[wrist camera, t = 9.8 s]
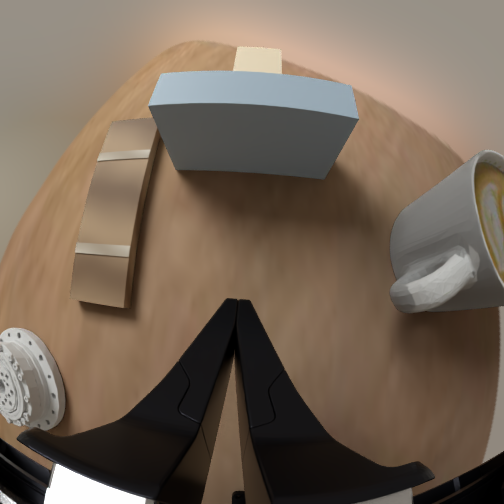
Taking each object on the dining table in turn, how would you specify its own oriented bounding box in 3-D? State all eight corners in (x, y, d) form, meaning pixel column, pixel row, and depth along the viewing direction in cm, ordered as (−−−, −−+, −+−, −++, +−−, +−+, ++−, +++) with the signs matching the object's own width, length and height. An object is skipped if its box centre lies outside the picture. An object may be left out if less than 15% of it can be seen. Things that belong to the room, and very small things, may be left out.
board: (130, 308, 18) (123, 307, 17) (77, 299, 18) (69, 298, 17) (163, 125, 22) (160, 116, 20) (116, 128, 22) (111, 121, 20)
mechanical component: (85, 400, 17) (29, 307, 18) (56, 415, 12) (-3, 303, 14) (40, 440, 15) (-7, 359, 16) (15, 453, 11) (-34, 361, 12)
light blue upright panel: (324, 179, 21) (358, 118, 13) (176, 170, 21) (148, 105, 13) (315, 82, 24) (332, 24, 16) (199, 75, 23) (190, 15, 16)
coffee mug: (446, 194, 21) (511, 147, 12) (477, 288, 19) (553, 271, 10) (337, 224, 20) (402, 157, 10) (374, 347, 18) (465, 364, 8)
